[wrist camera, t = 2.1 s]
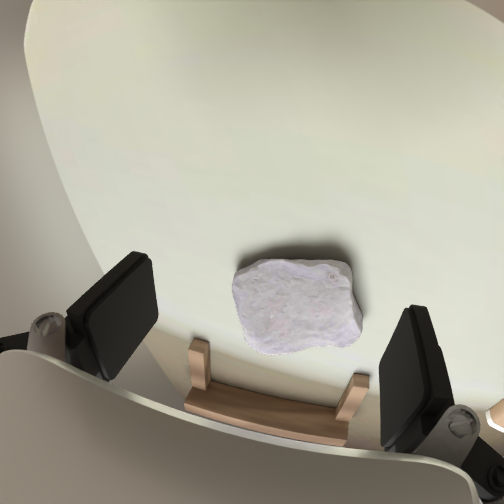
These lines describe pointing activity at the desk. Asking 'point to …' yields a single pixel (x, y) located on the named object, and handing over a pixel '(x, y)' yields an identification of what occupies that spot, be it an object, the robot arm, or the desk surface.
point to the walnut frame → (270, 405)
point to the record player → (496, 416)
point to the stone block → (296, 305)
